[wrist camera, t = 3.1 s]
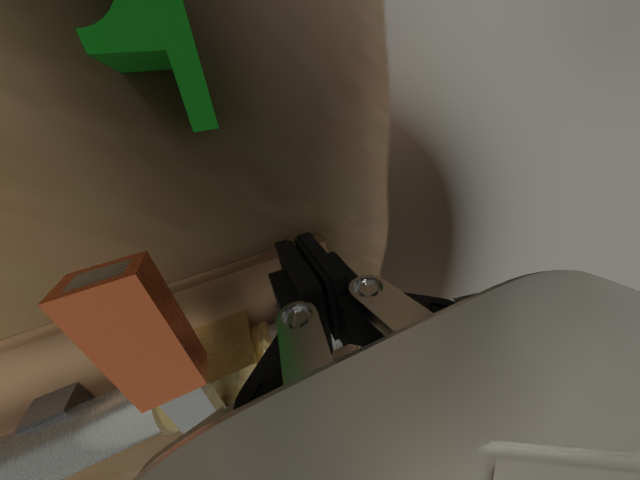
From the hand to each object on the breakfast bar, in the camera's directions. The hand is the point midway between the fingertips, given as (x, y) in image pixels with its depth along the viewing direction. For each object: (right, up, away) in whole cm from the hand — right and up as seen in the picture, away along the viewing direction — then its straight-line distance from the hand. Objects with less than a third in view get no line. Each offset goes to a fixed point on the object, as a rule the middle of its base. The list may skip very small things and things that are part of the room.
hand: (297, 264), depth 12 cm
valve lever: (-5, -5, +1) cm, 7 cm away
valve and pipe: (-8, -8, +7) cm, 14 cm away
